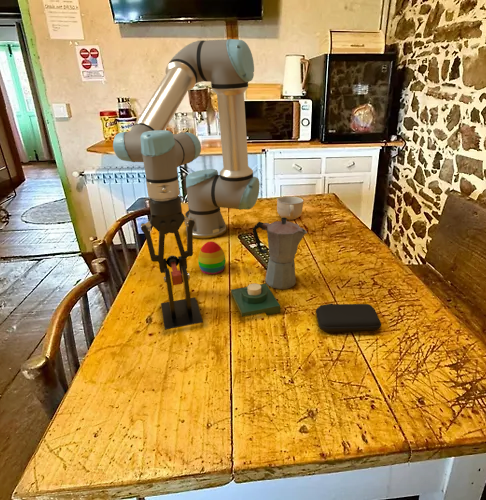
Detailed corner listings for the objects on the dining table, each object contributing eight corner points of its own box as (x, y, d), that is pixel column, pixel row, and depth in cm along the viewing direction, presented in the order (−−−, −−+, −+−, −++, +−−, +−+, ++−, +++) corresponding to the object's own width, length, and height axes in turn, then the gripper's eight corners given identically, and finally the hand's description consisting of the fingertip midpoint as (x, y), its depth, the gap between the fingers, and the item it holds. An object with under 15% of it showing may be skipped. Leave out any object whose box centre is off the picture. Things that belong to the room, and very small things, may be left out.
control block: (231, 296, 108) (230, 283, 106) (266, 290, 111) (265, 277, 109) (242, 320, 98) (241, 306, 96) (280, 312, 100) (280, 299, 99)
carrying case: (371, 309, 101) (314, 310, 101) (372, 298, 100) (314, 299, 100) (382, 334, 92) (319, 335, 92) (384, 323, 90) (319, 324, 90)
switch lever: (166, 265, 105) (165, 254, 104) (178, 263, 106) (177, 252, 105) (171, 287, 94) (169, 275, 93) (184, 284, 95) (183, 273, 94)
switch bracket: (161, 306, 104) (154, 263, 98) (195, 300, 106) (191, 257, 101) (165, 333, 93) (158, 286, 88) (203, 325, 96) (198, 279, 90)
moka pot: (303, 293, 109) (305, 225, 101) (249, 288, 112) (246, 221, 104) (307, 276, 118) (309, 213, 109) (257, 272, 120) (255, 210, 112)
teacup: (278, 212, 170) (278, 194, 167) (303, 213, 169) (304, 195, 166) (274, 224, 158) (274, 205, 154) (301, 225, 156) (302, 205, 153)
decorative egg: (231, 272, 121) (229, 242, 116) (208, 281, 116) (205, 250, 112) (217, 263, 126) (215, 234, 122) (194, 271, 122) (191, 241, 118)
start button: (246, 290, 104) (245, 284, 103) (259, 288, 105) (258, 282, 104) (249, 297, 101) (249, 291, 100) (263, 294, 102) (263, 288, 101)
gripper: (129, 204, 91) (144, 293, 101) (200, 197, 96) (207, 282, 105) (129, 196, 97) (143, 279, 107) (195, 189, 102) (203, 270, 112)
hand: (175, 281), depth 106 cm, fingers closed on switch lever, 3 cm apart
